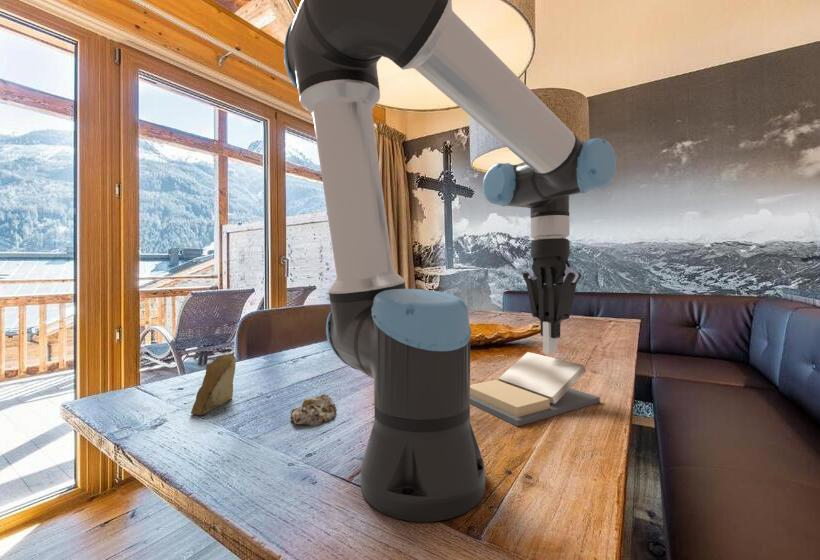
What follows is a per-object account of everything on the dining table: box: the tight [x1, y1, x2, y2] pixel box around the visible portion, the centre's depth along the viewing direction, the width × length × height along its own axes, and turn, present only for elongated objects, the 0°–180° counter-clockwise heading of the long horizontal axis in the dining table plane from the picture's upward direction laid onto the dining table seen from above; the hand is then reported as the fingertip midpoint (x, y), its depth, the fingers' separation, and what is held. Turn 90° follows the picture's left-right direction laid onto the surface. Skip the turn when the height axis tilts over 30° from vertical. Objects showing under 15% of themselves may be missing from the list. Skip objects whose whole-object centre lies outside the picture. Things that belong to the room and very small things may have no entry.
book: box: [497, 351, 587, 404], centre depth 76 cm, size 10×14×2 cm
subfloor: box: [470, 379, 601, 427], centre depth 74 cm, size 22×16×3 cm
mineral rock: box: [289, 394, 337, 426], centre depth 68 cm, size 11×4×8 cm
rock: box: [190, 353, 237, 416], centre depth 73 cm, size 11×9×10 cm
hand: (550, 352), depth 77 cm, fingers closed
